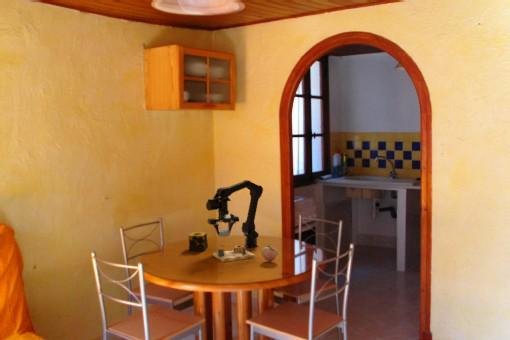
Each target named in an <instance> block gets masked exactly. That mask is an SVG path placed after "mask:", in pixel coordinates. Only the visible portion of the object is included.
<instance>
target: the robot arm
mask: <svg viewBox="0 0 510 340" xmlns="http://www.w3.org/2000/svg"><path fill="white" fill-rule="evenodd" d="M243 189H247V190H249V195H250V202H249V206H248V211H247V215H246V220H245V222H242V225H241V228H240V229H241V232H242V234H243V236H244V237H245V242H244V246H245V247H247V248H249V249H250V248H257V247H259V246H258V242H257V240H258V238H259V233H258V232H257V231H256V225H255V224H256V223H255V220H256V213H257V210H258V209H257V208H258V205H259V204H258V203H259V201H260V199H261V197H262V195H263V192H264V188H263V187H262V185H259V184H256V183H254V182H252V181H251V180H248V179H245V180H243V181H239V182H238V183H236V184H233V185H230V186H226V187H223V186H222V187H219V188H217V189H216V193H215V194H214V196H213V198H208V199H207V202H206V204H205V208H206V210H207V211H217V213H218V217H217V218H214V217H211V218H208V219H207V224H209V225H212V226H213V227H214V229H215V231H216V234H217V236H218V235H219V229H220V228H219V225H220V224H219V223H224V224H227V226H228V229H227V230H229V231H230V233H231V231H232V228H233V226H234V225H235V224H236V223H237V222H240V218H239V216H237V215H235V214H234V213H230V212H229V207H228V206H229V205H228V202H231V201H232V200H231V199H230V198H229V197H230V196H232V194H234V193H236V192H239V191H241V190H243Z"/></svg>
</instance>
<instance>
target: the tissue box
mask: <svg viewBox="0 0 510 340" xmlns="http://www.w3.org/2000/svg"><path fill="white" fill-rule="evenodd" d="M207 238H208V232H207V231H200V232H199V231H196V232H195V231H193V232H190V233H189V235H188V250H189V252H205V251H206V250H207V249H208V247H209V242H208V239H207Z"/></svg>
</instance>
